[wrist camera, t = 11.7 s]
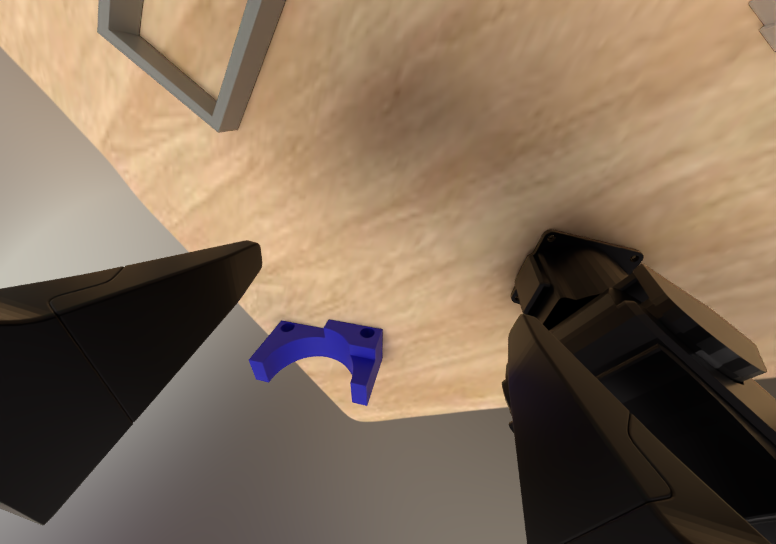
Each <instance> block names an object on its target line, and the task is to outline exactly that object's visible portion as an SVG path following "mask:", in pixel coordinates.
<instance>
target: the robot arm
mask: <svg viewBox="0 0 776 544" xmlns="http://www.w3.org/2000/svg"><path fill="white" fill-rule="evenodd" d="M550 235H554V237H553V238H552V239H548V237H549V236H550ZM632 256H636V257H635V258H633V259H630V258H631V257H632ZM642 260H643V254H642V253H641V252H639V251H638V250H635V249H631V248H627V247H623V246H618V245H614V244H610V243H606V242H602V241H598V240H594V239H589V238H585V237H581V236H577V235H573V234H569V233H565V232H560V231H556V230H547V231H546V232H544V234H543V235H542V237H541V239H540V241H539V243H538V245H537V246H536V248H535V250H534V252H533V254H530V255H528V256H527V258H526V260H525V262H524V264H523V266H522V268H521V270H520V272H519V273H518V275H517V277H516V279H515V288H514V290H513V291H512V293H511V299H512V301H513V302H514V303H517V304H521V308H522V312H523V314H521V315H520V316H519V317H518V319H517V320H516V322H515V324H514V325H513V327H512V329H511V330H510V333H509V337H508V363H507V365H506V379H505V380H504V381H503V382H502V388H503V392H504V396H505V400H506V402H507V405H508V407H509V410H510V413H511V415H512V418H513V421H511V422H509V427H510V429H511V430H512V431H513V433H514V436H515V445H516V453H517V461H518V470H519V479H520V487H521V495H522V504H523V513H524V521H525V530H526V537H527V544H776V399H775V398H774V397H772V396H771V395H770V394H769V393H768V392H767V391H766V390H765V389H763V388H762V387H761V386H760V385H759V384H758V383H757V382H756V381H754V380H753V379H752V378H753V377H755V376H758V375H761V374H763V373H766V372H767V369H766V367H765V365H764V362H763V360H762V358H761V355H760V353H759V351H758V349H757V346H756V345H755V344H754V343H753V342H752V341H751V340H749V339H748V338H747V337H746V336H744V335H743V334H742V333H741V332H739V331H738V330H737V329H736V328H734V327H733V326H732V325H731V324H729V323H728V322H727V321H726V320H725V319H723V318H722V317H721V316H720V315H718V314H717V313H716V312H715V311H713V310H712V309H711V308H709V307H708V306H706V305H705V304H703V303H702V302H700V301H699V300H697V299H695V298H694V297H692V296H691V295H689V294H688V293H686V292H685V291H683V290H682V289H680V288H679V287H677V286H676V285H674V284H673V283H671V282H670V281H668V280H667V279H665V278H664V277H662V276H661V275H659V274H658V273H656V272H655V271H653V270H652V269H650V268H649V267H647V266H646V265H644V264H641V265H639V264H640V263H641V261H642ZM638 265H639V266H638ZM637 266H638V267H637ZM261 268H262V256H261V247H260V245H259V244H258V243H256V242H252V241H248V240H246V241H241V242H236V243H232V244H227V245H222V246H217V247H213V248H208V249H203V250H198V251H194V252H189V253H185V254H180V255H175V256H170V257H165V258H161V259H156V260H151V261H146V262H142V263H137V264H132V265H127V266H125V267H117V268H113V269H108V270H103V271H98V272H93V273H88V274H83V275H77V276H72V277H66V278H61V279H55V280H49V281H43V282H37V283H31V284H25V285H19V286H14V287H8V288H2V289H0V509H3V510H5V511H8V512H10V513H13V514H15V515H18V516H20V517H23V518H25V519H28V520H30V521H33V522H35V523H38V524H40V525H45V524H46V523H47V522H48V521H49V520H50V519H51V518H52V517H53V516H54V515H55V513H56V512H57V511H58V510H59V509H60V508H61V507H62V505H63V504H64V503H65V502H66V501H67V500H68V499H69V497H70V496H71V495H72V494H73V493H74V492H75V490H76V489H77V488H78V487H79V486H80V485H81V483H82V482H83V481H84V480H85V479H86V478H87V477H88V475H89V474H90V473H91V472H92V471H93V470H94V468H95V467H96V466H97V465H98V464H99V463H100V462H101V460H102V459H103V458H104V457H105V456H106V455H107V453H108V452H109V451H110V450H111V449H112V448H113V446H114V445H115V444H116V443H117V442H118V441H119V440H120V438H121V437H122V436H123V435H124V434H125V432H126V431H127V430H128V429H129V428H130V427H131V426H132V425H133V422H135V420H137V419H138V417H139V416H140V415H141V414H142V413H143V412H144V410H145V409H146V408H147V407H148V406H149V405H150V403H151V402H152V401H153V400H154V399H155V398H156V397H157V395H158V394H159V393H160V392H161V391H162V390H163V388H164V387H165V386H166V385H167V384H168V383H169V382H170V380H171V379H172V378H173V377H174V376H175V375H176V373H177V372H178V371H179V370H180V369H181V368H182V367H183V365H184V364H185V363H186V362H187V361H188V360H189V358H190V357H191V356H192V355H193V354H194V353H195V352H196V350H197V349H198V348H199V347H200V346H201V345H202V343H203V342H204V341H205V340H206V339H207V338H208V337H209V335H210V334H211V333H212V332H213V331H214V329H215V328H216V327H217V326H218V325H219V324H220V323H221V321H222V320H223V319H224V318H225V317H226V316H227V315H228V313H229V312H230V311H231V310H232V309H233V308H234V306H235V305H236V304H237V303H238V301H239V300H240V299H241V297H242V296H243V295H244V293H245V292H246V290H247V289H248V287H249V286H250V284H251V283H252V282H253V280H254V279H255V277H256V276H257V274H258V273H259V271H260V270H261ZM516 296H518V297H519V298H515V297H516Z"/></svg>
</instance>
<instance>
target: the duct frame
mask: <svg viewBox="0 0 776 544" xmlns="http://www.w3.org/2000/svg"><path fill="white" fill-rule="evenodd" d="M285 1H286V0H248V1H247V4H246V8H245V11H244V14H243V17H242V21H241V24H240V27H239V31H238V34H237V37H236V40H235V44H234V47H233V50H232V54H231V57H230V60H229V63H228V67H227V70H226V73H225V76H224V80H223V83H222V86H221V90H220V93H219V96H218V99H217V101H215V100H214V99H213V98H212V97H211V96H210V95H208V94H207V93H206V92H205V91H204V90H203V89H201V88H200V87H199V86H198V85H197V84H196V83H194V82H193V81H192V80H191V79H190V78H188V77H187V76H186V75H185V74H184V73H183V72H181V71H180V70H179V69H178V68H177V67H176V66H174V65H173V64H172V63H171V62H170V61H169V60H167V59H166V58H165V57H164V56H163V55H161V54H160V53H159V52H158V51H157V50H156V49H154V48H153V47H152V46H151V45H150V44H149V43H147V42H146V41H145V40H144V39H143V38H142V37H140V36H139V30H140V22H141V13H142V5H143V0H99V5H98V28H97V32H98V33H99V34H100V35H101V36H103V37H104V38H105V39H106V40H107V41H109V42H110V43H111V44H112V45H113V46H115V47H116V48H117V49H118V50H119V51H121V52H122V53H123V54H124V55H125V56H127V57H128V58H129V59H130V60H131V61H133V62H134V63H135V64H136V65H137V66H139V67H140V68H141V69H142V70H144V71H145V72H146V73H147V74H148V75H150V76H151V77H152V78H153V79H154V80H156V81H157V82H158V83H159V84H160V85H162V86H163V87H164V88H165V89H166V90H168V91H169V92H170V93H171V94H172V95H174V96H175V97H176V98H177V99H178V100H180V101H181V102H182V103H183V104H184V105H186V106H187V107H188V108H189V109H191V110H192V111H193V112H194V113H195V114H197V115H198V116H199V117H200V118H201V119H203V120H204V121H205V122H206V123H207V124H209V125H210V126H211V127H212V128H213V129H215V130H216V131H217V132H226V131H233V130H238V127H239V125H240V122H241V119H242V116H243V114H244V111H245V108H246V106H247V103H248V100H249V98H250V95H251V92H252V90H253V87H254V84H255V82H256V79H257V76H258V73H259V71H260V68H261V65H262V63H263V60H264V57H265V55H266V52H267V49H268V47H269V44H270V41H271V39H272V36H273V33H274V30H275V28H276V25H277V22H278V20H279V17H280V14H281V12H282V9H283V6H284V4H285Z"/></svg>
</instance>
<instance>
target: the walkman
mask: <svg viewBox="0 0 776 544" xmlns="http://www.w3.org/2000/svg"><path fill="white" fill-rule="evenodd" d="M749 5H750V7H751V8H752V9H753V11H754V12H755V13H756V15H757V16H758V17H759V19H760V20H761V21H762V23H763V24H764V25H765V26H763V27H762V28H761V29H760V30H759V31H760V32H761V34H762V35H763V36H764V38H765V39H766V40H767V42H768V43H769V45H770V46H771V47H772V49H773V50H774V51H776V0H752V1H751V2H749Z"/></svg>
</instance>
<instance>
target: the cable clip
mask: <svg viewBox="0 0 776 544" xmlns="http://www.w3.org/2000/svg"><path fill="white" fill-rule="evenodd" d="M382 340H383V329H379V328H373V327H368V326H362V325H357V324H351V323H345V322H340V321H334V320H328V321H327V323H326V325H325V326H324V328H319V327H313V326H308V325H303V324H297V323H292V322H287V321H282V320H281V322H280V323H279V324H278V325H277V326H276V328H275V329H274V330H273V331H272V332H271V334H270V335H269V336H268V337H267V338H266V340H265V341H264V342H263V343H262V344H261V346H260V347H259V348H258V349H257V350H256V352H255V353H254V354H253V355H252V357H251V358H250V359H249V362H250V364H251V367H252V370H253V372H254V375H255V377H256V379H257V380H261V381H265V382H270V380H271V379H272V378H273V377H274V376H275V375H276V374H277V373H278V372H279V371H280V370H281V369H283V368H284V367H286V366H287V365H289V364H291V363H292V362H295V361H297V360H300V359H303V358H307V357H313V356H323V357H329V358H333V359H335V360H338V361H339V362H341V363H342V364H344V365H345V366H346V367H347V368H348V369H349V371H350V372H351V374H352V379H351V382H350V384H351V394H352V402H353V403H357V404H362V405H366V406H367V405H368V402H369V399H370V395H371V392H372V389H373V386H374V383H375V380H376V377H377V374H378V371H379V368H380V364H381V361H382Z"/></svg>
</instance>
